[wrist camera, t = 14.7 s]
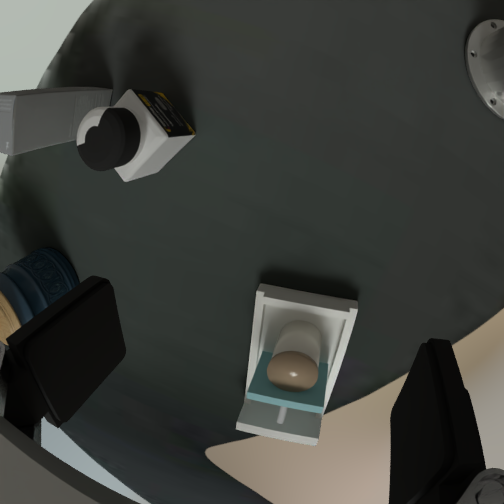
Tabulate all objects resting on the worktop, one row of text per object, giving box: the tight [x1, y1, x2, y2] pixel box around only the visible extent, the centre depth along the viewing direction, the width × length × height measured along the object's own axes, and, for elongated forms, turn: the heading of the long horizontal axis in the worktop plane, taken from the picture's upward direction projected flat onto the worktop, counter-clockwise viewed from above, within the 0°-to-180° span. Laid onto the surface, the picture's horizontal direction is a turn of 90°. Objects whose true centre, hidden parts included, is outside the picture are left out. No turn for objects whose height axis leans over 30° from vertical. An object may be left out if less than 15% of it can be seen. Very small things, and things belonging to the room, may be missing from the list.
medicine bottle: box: [77, 89, 195, 182], centre depth 31 cm, size 7×7×12 cm
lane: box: [236, 283, 358, 446], centre depth 40 cm, size 12×22×6 cm, turn 175°
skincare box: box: [0, 87, 113, 156], centre depth 30 cm, size 8×7×16 cm
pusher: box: [246, 351, 328, 424], centre depth 40 cm, size 9×9×8 cm
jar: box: [267, 320, 322, 392], centre depth 38 cm, size 6×6×7 cm
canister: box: [0, 247, 79, 345], centre depth 42 cm, size 13×13×18 cm
